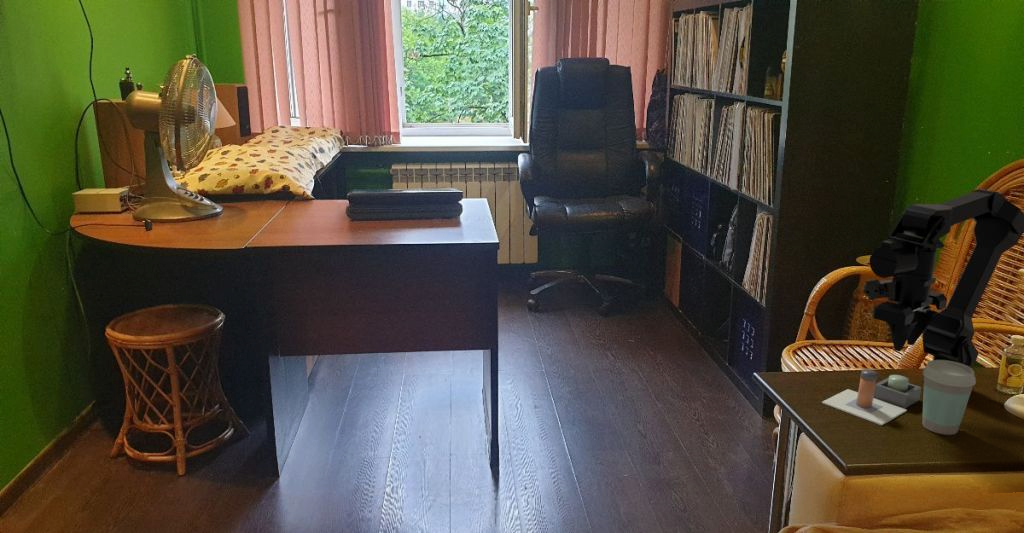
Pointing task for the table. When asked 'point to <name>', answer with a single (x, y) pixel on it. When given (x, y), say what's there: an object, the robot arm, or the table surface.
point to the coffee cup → (946, 395)
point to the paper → (876, 413)
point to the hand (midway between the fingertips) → (903, 347)
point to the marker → (866, 388)
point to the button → (898, 383)
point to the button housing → (897, 394)
